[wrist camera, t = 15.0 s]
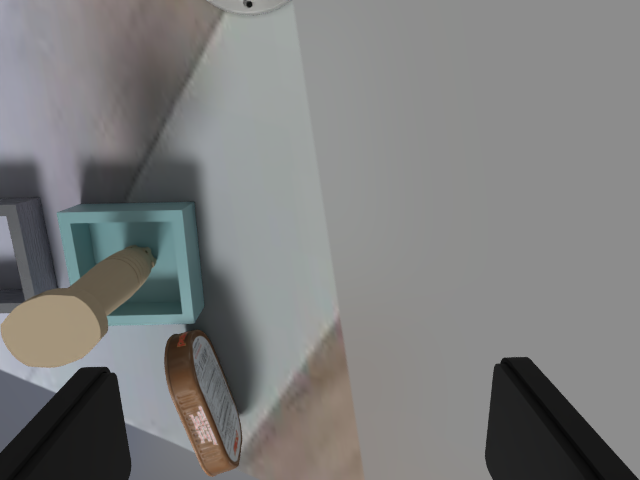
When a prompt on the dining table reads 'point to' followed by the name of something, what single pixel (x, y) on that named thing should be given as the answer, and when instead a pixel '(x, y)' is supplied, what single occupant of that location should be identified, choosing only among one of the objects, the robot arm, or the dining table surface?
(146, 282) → the tray
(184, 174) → the dining table surface
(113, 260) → the handle
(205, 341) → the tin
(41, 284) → the collar
